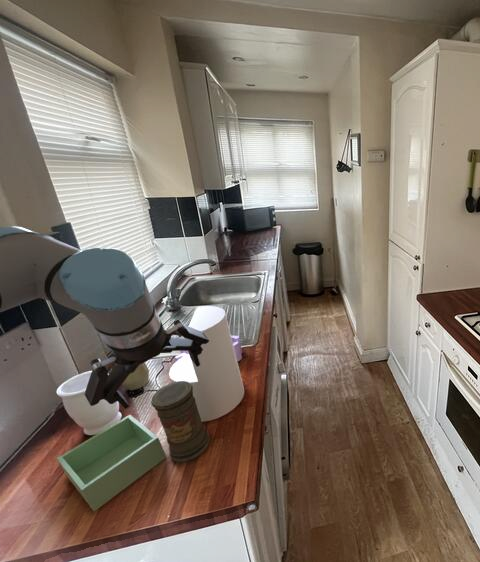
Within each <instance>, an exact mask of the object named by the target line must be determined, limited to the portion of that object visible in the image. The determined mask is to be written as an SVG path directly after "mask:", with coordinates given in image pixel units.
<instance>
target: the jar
mask: <svg viewBox="0 0 480 562" xmlns="http://www.w3.org/2000/svg"><path fill="white" fill-rule="evenodd" d="M91 372H92V370H88V371H85V372H82V373H79V374H77V375H74V376H72V377H71V378H69V379H67V380H66V381H63V383H61V384H60V385H59V386H58V388H57V389H56V394H57V396H58V397H59V398H61V399H62V405H63V408H64V410H65V411H66V413H67V414H68V416H69V417H70V419H72V420H73V421H74V422H75V423H76V424H77V426H79V427H80V428H83V434H85V435H87V436H95V435H97V434H98V433H100V432H102V431H103V430H105V429H107V428H108V427H110V426H112V425H113V424H115V423H117V422H118V421H120V420H122V416H123V415H122V413H121V411H120V403H119V402H118V401H117V402H115V403H113V404H109V403H108V402H107V401H106V400H105V399H102V400H100V401H99V403H98V404H96V405H94V406H90V404H89V402H88V400H87V398H86V397H85V395H84V394H85V391H86V388H87V385H88V381H89V378H90V375H91ZM109 374H110V373H109ZM109 374H108V375H109Z"/></svg>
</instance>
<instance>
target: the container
mask: <svg viewBox="0 0 480 562" xmlns="http://www.w3.org/2000/svg"><path fill="white" fill-rule="evenodd" d="M150 405H151V406H152V407H153V408H154V410H155V411H156V412H157V417H158V418H159V421H160V423H161V426H162V428H163V431H164V434H165V436H166V442H167V444H168V452H169V456H170V458H171V459H172V460H173V461H174V462H176V463H181V464H182V463H189V462H191V461H193V460H196V459H197V458H199V457H200V456H201V455H202V454H204V453H205V452H206V451H207V449H208V447H209V445H210V442H211V436H210V434H209V432H208V430H207V429H206V428H205V424H204V422H202V421H201V418H200V415H199V412H198V408H197V405H196V402H195V398H194V397H193V387H192V385H191V384H190V383H189V382H186V381H178V382H174V383H172V382H170V383H168V384H166V385H164V386H162V387H160V388H158V390H156V391H155V393H154V394H153V395H152V396H151V399H150Z"/></svg>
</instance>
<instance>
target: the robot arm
mask: <svg viewBox="0 0 480 562" xmlns="http://www.w3.org/2000/svg"><path fill="white" fill-rule="evenodd" d="M148 288H149V287H148V286H147V283H146V278H145V275H144V274H143V273H142V270H140V268H139V266H138V264H137V263H136V261H135V259H134V258H133V257H132V256H131V255H130V254H128V253H127V252H125V251H123V250H121V249H118V248H114V247H110V248H103V247H91V248H90V247H89V248H86V249H83V250H82V249H80V248H78V247H75V246H72V245H70V244H68V243H66V242H63V241H60V240H58V239H56V238H54V237H53V236H51V235H49V234H44V233H41V232H37V231H33V230H30V229H28V228H24V227H21V226H11V225H10V226H9V225H7V226H5V225H4V226H0V313H3V312H5V311H8V310H10V309H13V308H15V307H18V306H21V305H23V304H26V303H28V302H31V301H33V300H36V299H42V300H45V301H48V302H51V303H54V304H56V305H58V306H63V307H66V308H68V309H70V310H73V311H76V312H78V313H81V314H82V315H83V316H85V317H86V319H87V320H88V321H89V322H90V324H91V325H92V326H93V328H94V330H95V331H96V332H97V334H98V335H99V336H100V338H101V339H102V340H103V341H104V343H105V344H106V346H107V347H108V348H109V350H110V351H111V352H112V353H111V356H110V357H108V358H106V359H103V360H101V359H100V358H95V359H92V360H91V361H90V363H89V364H90V366H91V368H92V370H91V371H92V372H91V375H90V378H89V381H88V385H87V388H86V391H85V394H84V395H85V397H86V398H87V400H88V402H89V404H90V406H94V405H96V404H98V403H99V401H100V400H102V399H105V400H106V401H107V402H108V403H109V404H113V403H115V402H117V401H118V402H119V405H121V406H122V407H123V408H124V409H125V410H126V409H128V408H129V407H130V406H131V405H130V404H129V403H128V401H127V400H126V397H125V396H124V395H123V393H121V391H120V390H119V389H120V388H121V386H123V385H122V383H123V382H124V381H125V379H126V378H127V377H128V375H129V374H130V373H133V372H134V371H135V370H136V369H137V367H138V366H139V365H140V364H143V363H144V362H145V363H146V362H148V361H149V360H151V359H153V358H157V357H159V355H161V354H171V353H172V352H181V351H188V352H189V355H190V358H191V360H192V361H193V362H194V364H195V365H196V367H198V366H200V362H199V359H198V355H200V354H201V353H202V351H203V348H202V347H201V345H202V344H207V343H208V342H209V339H208V338H207V337H206V335H205V334H204V333H203V332H202V331H199V330H196V329H194V328H191V327H189V325H186V324H184V323H183V322H182V321H181V319H176V320H175V321H173V325H172V327H170V328H167V329H165V326H164V324H163V322H162V320H161V317H160V315H159V313H158V310H157V309H156V306H155V303H154V302H153V298H152V295H151V293H150V291H149V289H148ZM172 336H173V337H172ZM174 336H176V337H174ZM177 336H178V337H177ZM115 364H116V365H115ZM112 367H113V368H112ZM108 374H109V375H108Z"/></svg>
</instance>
